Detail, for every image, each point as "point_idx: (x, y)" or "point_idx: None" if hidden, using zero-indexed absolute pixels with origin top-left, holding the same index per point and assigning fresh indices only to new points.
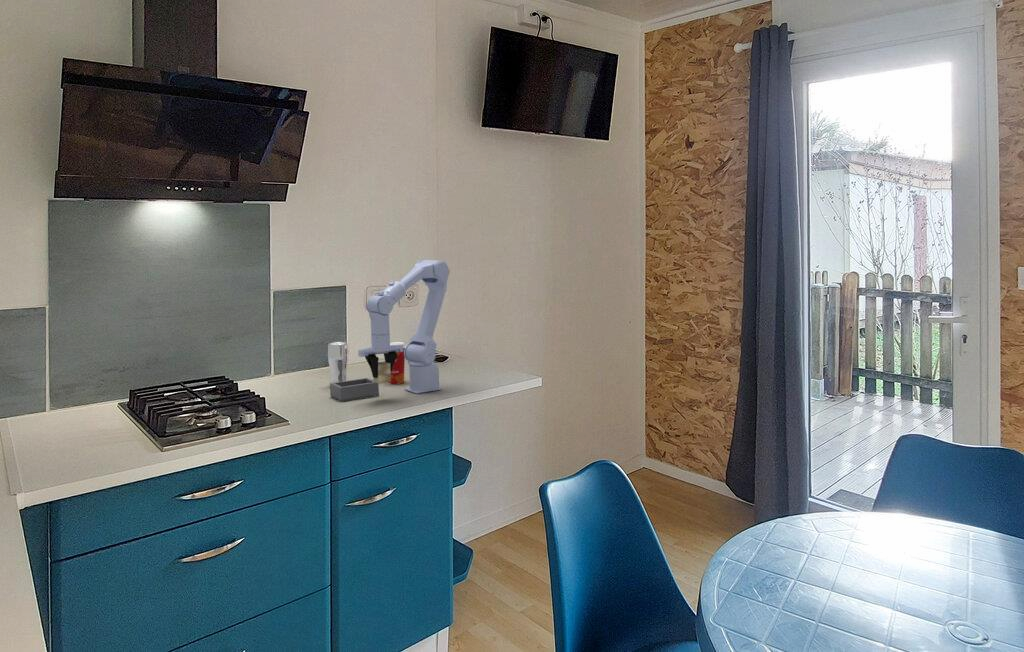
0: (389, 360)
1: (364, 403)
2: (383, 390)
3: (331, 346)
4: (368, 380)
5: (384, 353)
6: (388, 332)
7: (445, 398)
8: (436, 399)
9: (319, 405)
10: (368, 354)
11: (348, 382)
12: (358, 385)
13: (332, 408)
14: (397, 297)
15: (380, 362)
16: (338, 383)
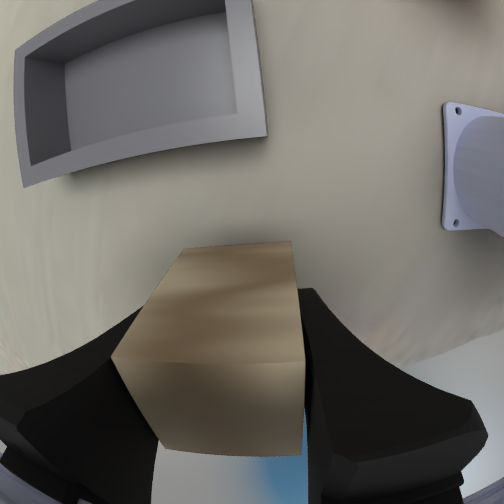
0: (309, 467)
1: (150, 255)
2: (340, 32)
3: None
4: (227, 16)
5: (341, 474)
6: None
7: (457, 344)
8: (432, 345)
9: (13, 192)
10: (34, 490)
11: (98, 19)
12: (107, 161)
13: (43, 259)
14: None
15: (216, 389)
16: (45, 46)
